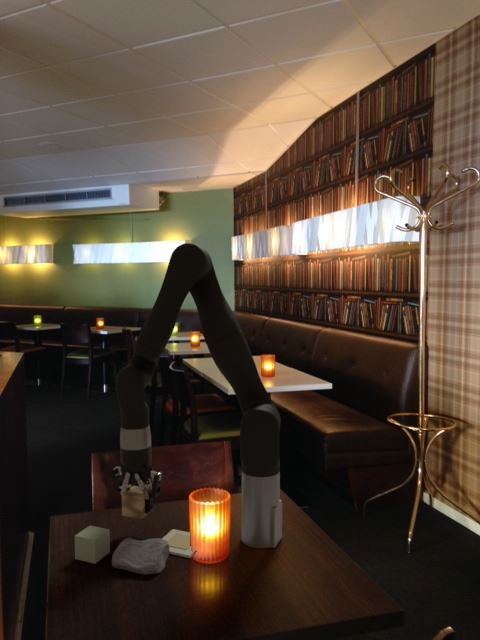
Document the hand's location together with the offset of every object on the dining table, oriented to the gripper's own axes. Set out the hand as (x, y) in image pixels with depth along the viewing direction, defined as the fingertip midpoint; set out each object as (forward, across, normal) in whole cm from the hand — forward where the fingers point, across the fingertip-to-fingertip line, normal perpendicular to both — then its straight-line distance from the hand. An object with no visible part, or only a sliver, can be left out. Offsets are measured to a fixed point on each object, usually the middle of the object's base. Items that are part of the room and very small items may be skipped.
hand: (137, 510), depth 131 cm
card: (+6, -13, +1) cm, 14 cm away
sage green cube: (+6, +4, +13) cm, 15 cm away
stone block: (+6, -8, +12) cm, 16 cm away
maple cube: (+1, 0, 0) cm, 1 cm away
